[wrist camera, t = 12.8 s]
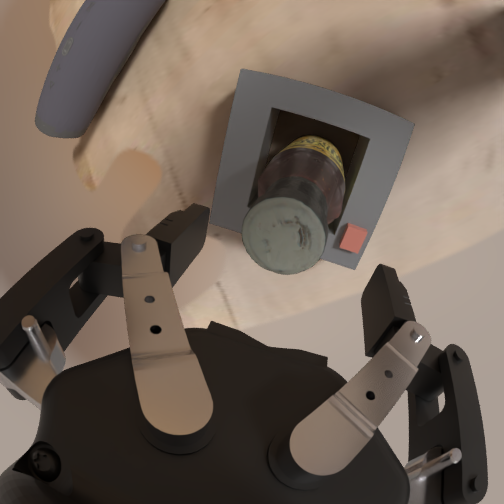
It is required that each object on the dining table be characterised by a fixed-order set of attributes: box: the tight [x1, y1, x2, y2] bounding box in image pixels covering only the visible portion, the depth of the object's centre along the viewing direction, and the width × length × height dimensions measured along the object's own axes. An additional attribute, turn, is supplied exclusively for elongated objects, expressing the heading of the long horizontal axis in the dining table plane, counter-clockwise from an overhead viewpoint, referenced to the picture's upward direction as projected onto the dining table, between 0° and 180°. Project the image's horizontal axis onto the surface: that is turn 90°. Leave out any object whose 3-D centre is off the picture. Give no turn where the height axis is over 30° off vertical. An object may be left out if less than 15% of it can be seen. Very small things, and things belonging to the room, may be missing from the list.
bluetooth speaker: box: [35, 0, 166, 138], centre depth 22 cm, size 23×9×10 cm, turn 140°
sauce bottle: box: [241, 135, 345, 275], centre depth 21 cm, size 6×6×20 cm
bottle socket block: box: [209, 69, 415, 270], centre depth 27 cm, size 16×16×7 cm
